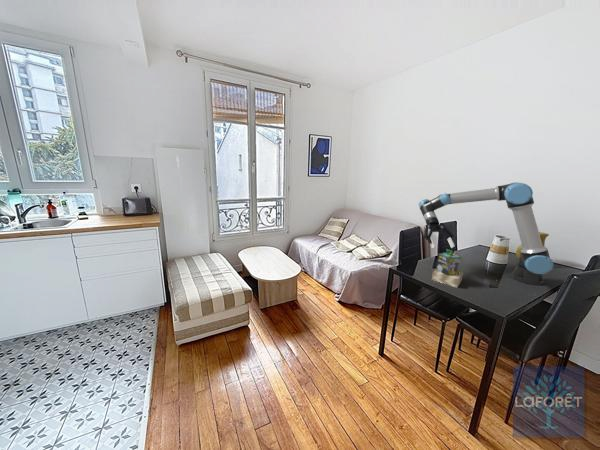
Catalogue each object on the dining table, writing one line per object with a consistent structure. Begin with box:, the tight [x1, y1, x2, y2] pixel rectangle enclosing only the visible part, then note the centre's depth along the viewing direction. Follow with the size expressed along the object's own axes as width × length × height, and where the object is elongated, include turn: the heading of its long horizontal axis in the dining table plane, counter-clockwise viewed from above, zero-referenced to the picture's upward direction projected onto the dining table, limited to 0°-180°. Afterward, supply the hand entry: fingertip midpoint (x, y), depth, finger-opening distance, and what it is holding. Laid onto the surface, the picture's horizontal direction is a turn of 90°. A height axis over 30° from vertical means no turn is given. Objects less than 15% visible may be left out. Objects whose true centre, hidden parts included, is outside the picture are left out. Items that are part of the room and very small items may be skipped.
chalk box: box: [435, 248, 462, 275], centre depth 152 cm, size 9×9×15 cm
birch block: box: [431, 267, 464, 288], centre depth 153 cm, size 14×14×6 cm
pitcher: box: [515, 231, 550, 259], centre depth 184 cm, size 17×19×25 cm
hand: (443, 247), depth 155 cm, fingers open, 13 cm apart
